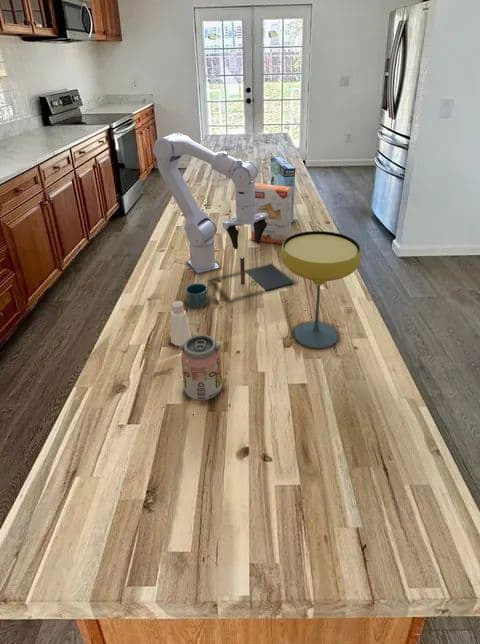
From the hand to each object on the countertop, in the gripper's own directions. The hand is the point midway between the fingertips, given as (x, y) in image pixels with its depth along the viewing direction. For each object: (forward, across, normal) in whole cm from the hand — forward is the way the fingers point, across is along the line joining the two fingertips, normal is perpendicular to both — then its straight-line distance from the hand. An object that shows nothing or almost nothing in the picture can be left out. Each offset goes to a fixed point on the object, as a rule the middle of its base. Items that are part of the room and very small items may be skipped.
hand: (246, 245), depth 135 cm
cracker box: (+11, +20, +20) cm, 30 cm away
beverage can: (+11, -31, -41) cm, 52 cm away
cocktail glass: (+11, +1, -37) cm, 39 cm away
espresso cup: (+10, -20, -8) cm, 24 cm away
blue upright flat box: (+11, +37, +41) cm, 56 cm away
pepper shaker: (+11, -30, -23) cm, 39 cm away
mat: (+10, -1, -5) cm, 12 cm away
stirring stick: (+10, -4, -5) cm, 12 cm away
